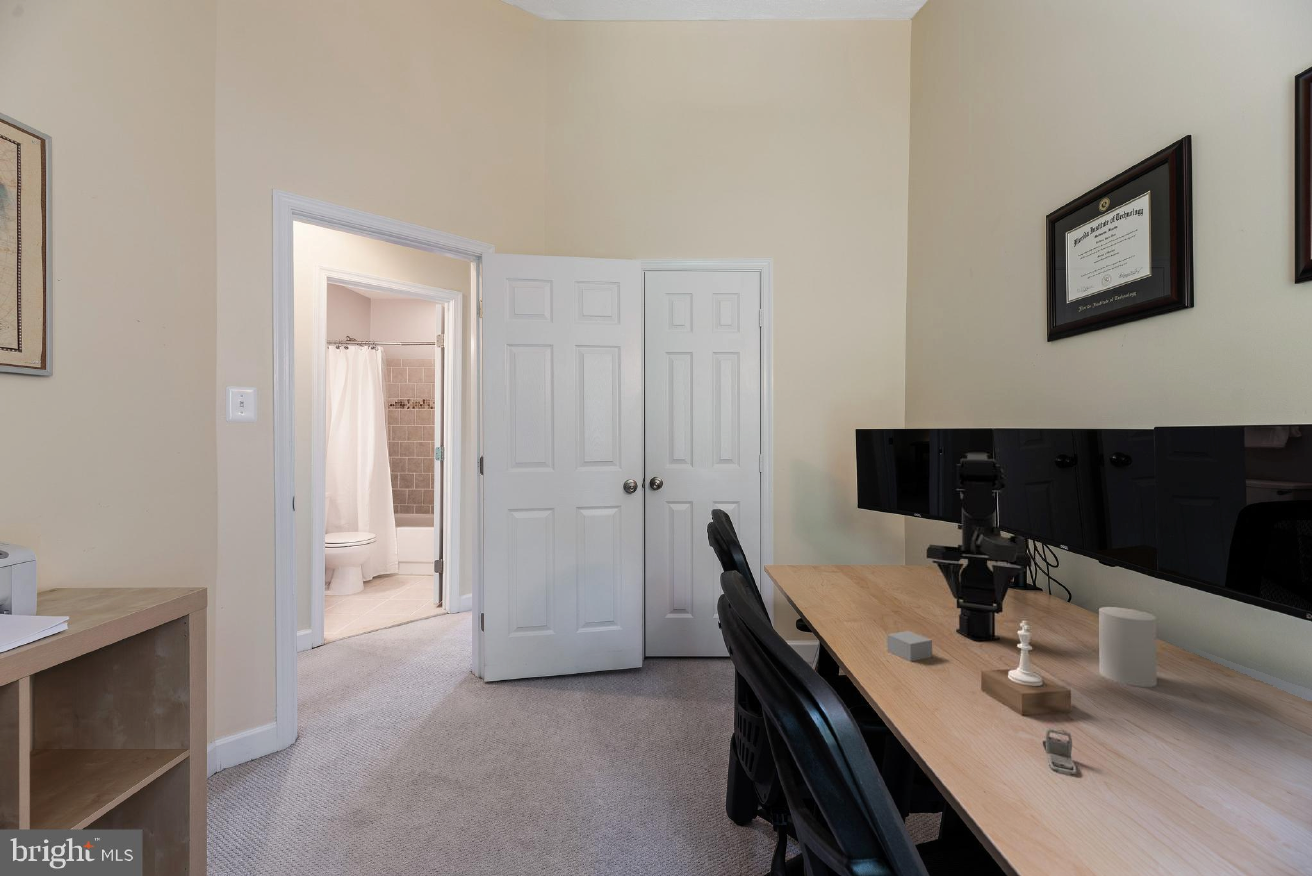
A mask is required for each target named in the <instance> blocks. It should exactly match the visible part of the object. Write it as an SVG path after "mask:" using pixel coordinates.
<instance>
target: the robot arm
mask: <svg viewBox="0 0 1312 876" xmlns="http://www.w3.org/2000/svg"><path fill="white" fill-rule="evenodd" d="M955 485H956V491H959V492H960V499H961V501H960V502H961V524H957V530H961V544H957V546H951V545H941V544H929V546H928V547H927V548H926V559H932V564H936V566H937V567H938V569H939V570H940V572H941V574H942V576H943V577H944V579H945V582H946V583H947V586H948V588H949V590H950V592H951V594H952V597H953V599H956V609H960V614H959V615H958V620H959V621H958V628H957V629H955V632H956V633H958V634H960V635H962V636H965V637H966V638H968V639H971V640H972V641H975V642H976V641H995V640H996V641H997V640H1001V637H1000V636H999V635H996V614H997V615H1000V613H1003V610H1004V608H1003V606H1004V605H1003V602H1004V600H1005V598H1006V595H1007V593H1008V591H1009V587H1010V585H1011V583H1012V581H1013V579H1014V578H1015V576H1017V575H1019V573H1020V572H1021V573H1022V572H1025V571H1026V568H1032V565H1033V563H1032V560H1033V559H1032V557H1031V555H1030V554H1029V553H1028V552H1027V551H1026V548H1027V546H1026V539H1025V538H1024V537H1022V536H1020V535H1010V537H1005V536H1002V534H1001V533H1002V532H1001V528H1000V527H999V526H996V522H995V521H996V519H995V518H996V517H995V516H996V514H995V513H996V510H997V504H998V503H997V499H996V497H995V495H994V494H995V492H1001V491H1002V489H1005V476H1004V470H1003V469H1002V466H1001V465H1000V464H997V461H996V459H993V458H990V453H986V452H968V453H964V458H961V459H960V463H959V464H957V463H956V484H955ZM961 560H967V563H966V564H965V566H964V563H961V562H960V561H961ZM959 562H960V563H959ZM988 562H995V563H996V564H992V565H991V567H992V570H991V568H990V567H989V565H988ZM1023 567H1024V568H1023Z"/></svg>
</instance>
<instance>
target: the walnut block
mask: <svg viewBox="0 0 1312 876" xmlns="http://www.w3.org/2000/svg"><path fill="white" fill-rule="evenodd" d="M1011 670H1017V668H1008V669H1007V668H1006V669H1005V668H1003V669H990V670H987V669H986V670H981V671H980V673H981V674H980V676H981V677H980V682H981V683H980V684H981V685H980V686H981V687H980V688H981V689H980V690H982V691H981V692H983V693H984V692H985V693H984V694H986V695H988V696H989V697H991V698H992V699H994V700H996V699H997V700H996V701H998V702H999V701H1000V702H999V703H1001V704H1002V705H1005V706H1006V707H1007V706H1008V707H1007V708H1009V709H1010V710H1012V711H1014V712H1016V713H1017V714H1019V715H1020V716H1032V715H1033V716H1034V715H1044V714H1055V713H1056V714H1061V713H1071V712H1072V690H1071V689H1069V688H1067V687H1065V686H1063V685H1062V684H1059V683H1057V682H1055V681H1053V680H1051V679H1050V678H1047V677H1045V676H1043V675H1041V674H1039V673H1037V672H1035V671H1033V673H1035V674H1037V675H1039V676H1040V677H1041V678H1042V685H1040V686H1028V685H1023V684H1019V683H1016V682H1014V681H1012V680H1010V679H1009V678H1008V675H1009V674H1008V672H1009V671H1011Z"/></svg>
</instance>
